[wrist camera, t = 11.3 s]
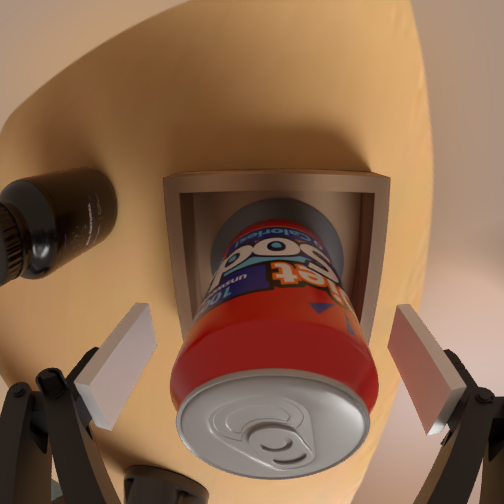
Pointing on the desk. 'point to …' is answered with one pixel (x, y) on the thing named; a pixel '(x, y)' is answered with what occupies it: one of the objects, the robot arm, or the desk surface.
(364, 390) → the soda can
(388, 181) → the walnut box
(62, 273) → the desk surface
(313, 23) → the desk surface
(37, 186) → the supplement bottle
